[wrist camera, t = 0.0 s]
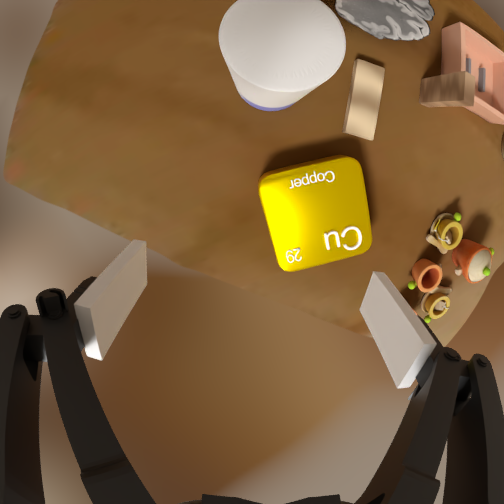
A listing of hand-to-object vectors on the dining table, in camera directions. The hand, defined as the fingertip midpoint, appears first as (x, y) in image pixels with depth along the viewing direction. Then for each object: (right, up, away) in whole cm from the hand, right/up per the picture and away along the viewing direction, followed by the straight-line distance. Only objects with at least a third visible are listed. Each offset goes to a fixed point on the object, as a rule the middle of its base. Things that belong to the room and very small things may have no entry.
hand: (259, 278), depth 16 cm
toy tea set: (+35, -3, +32) cm, 48 cm away
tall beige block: (+28, +27, +19) cm, 43 cm away
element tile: (+9, +8, +28) cm, 30 cm away
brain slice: (+21, +42, +13) cm, 49 cm away
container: (+2, +26, +20) cm, 33 cm away
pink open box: (+39, +33, +16) cm, 53 cm away
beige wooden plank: (+16, +24, +21) cm, 36 cm away
